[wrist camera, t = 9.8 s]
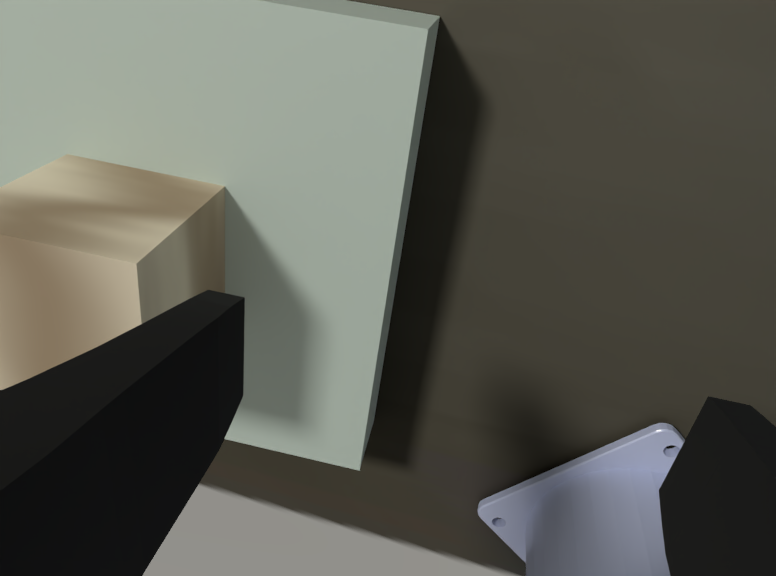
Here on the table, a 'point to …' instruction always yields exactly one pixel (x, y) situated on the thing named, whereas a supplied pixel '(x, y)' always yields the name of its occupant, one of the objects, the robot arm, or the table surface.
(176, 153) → the base board
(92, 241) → the maple block
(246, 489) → the table surface
